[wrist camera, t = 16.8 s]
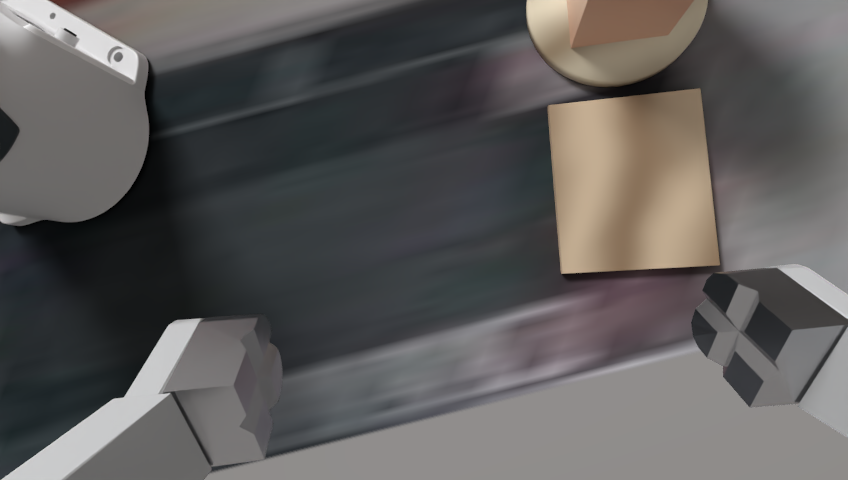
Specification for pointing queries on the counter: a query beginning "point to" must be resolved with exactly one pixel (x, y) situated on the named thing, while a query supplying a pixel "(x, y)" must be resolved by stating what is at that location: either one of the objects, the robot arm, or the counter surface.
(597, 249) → the cork mat
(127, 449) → the robot arm
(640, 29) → the tan drink carton
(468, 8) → the counter surface
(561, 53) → the birch board
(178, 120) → the counter surface
